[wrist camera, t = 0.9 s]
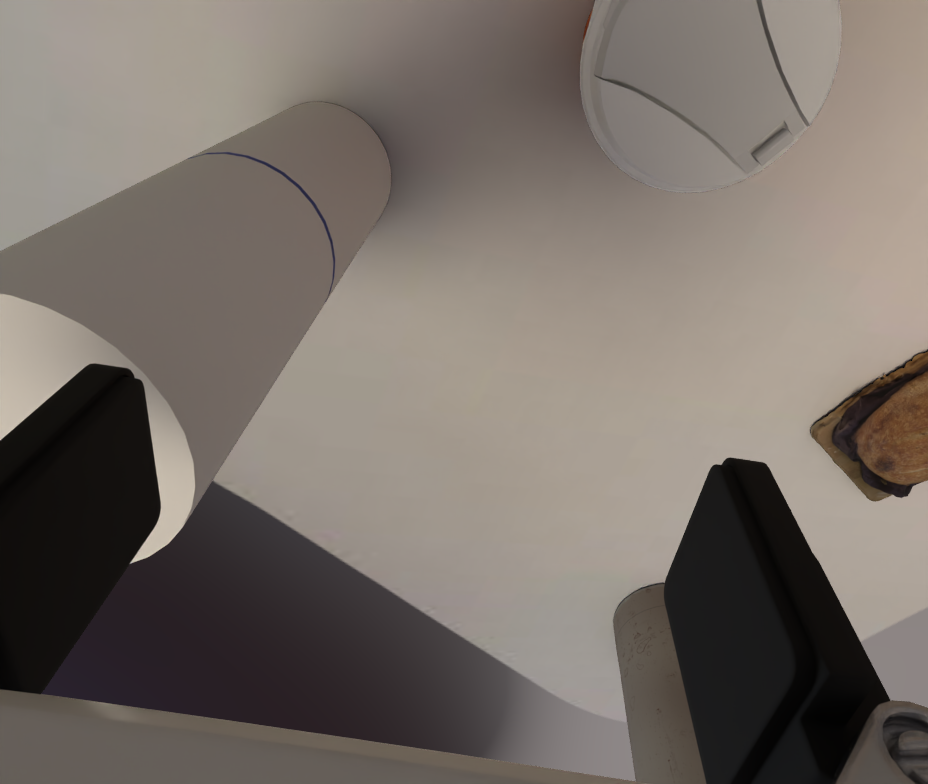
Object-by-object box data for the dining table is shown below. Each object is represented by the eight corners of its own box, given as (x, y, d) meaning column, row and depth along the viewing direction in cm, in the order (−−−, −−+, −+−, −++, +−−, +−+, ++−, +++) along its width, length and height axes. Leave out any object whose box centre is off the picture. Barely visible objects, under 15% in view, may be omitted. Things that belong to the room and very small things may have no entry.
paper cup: (761, 41, 31) (913, 71, 19) (627, 161, 34) (684, 251, 22) (658, -106, 29) (757, -178, 17) (524, 37, 32) (525, 64, 20)
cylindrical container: (412, 141, 34) (231, 383, 13) (364, 260, 38) (159, 607, 17) (280, 76, 33) (-155, 223, 12) (243, 205, 37) (-145, 500, 15)
